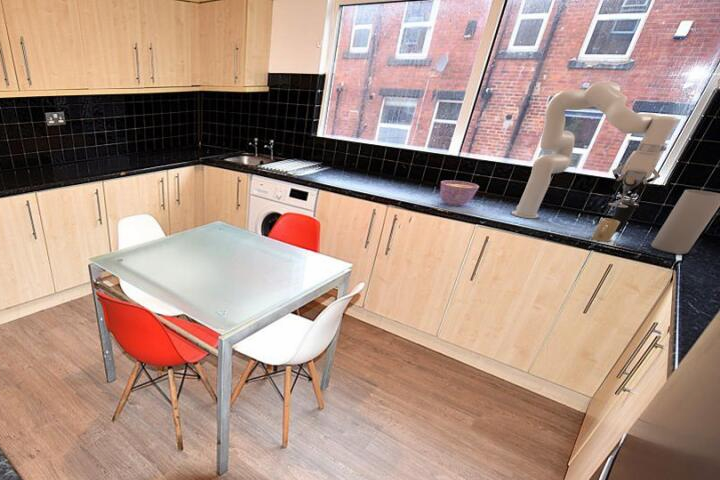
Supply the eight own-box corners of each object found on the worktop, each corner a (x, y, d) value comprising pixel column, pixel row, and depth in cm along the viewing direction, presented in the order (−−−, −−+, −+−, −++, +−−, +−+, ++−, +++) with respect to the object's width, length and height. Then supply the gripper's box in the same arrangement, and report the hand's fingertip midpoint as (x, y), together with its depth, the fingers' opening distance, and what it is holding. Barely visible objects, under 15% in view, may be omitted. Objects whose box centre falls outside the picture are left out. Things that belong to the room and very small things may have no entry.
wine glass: (633, 208, 189) (653, 173, 181) (613, 206, 190) (632, 171, 182) (622, 203, 196) (641, 169, 187) (603, 202, 197) (621, 168, 189)
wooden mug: (593, 235, 206) (603, 217, 201) (611, 239, 201) (621, 221, 196) (587, 239, 200) (598, 221, 195) (606, 243, 195) (617, 224, 190)
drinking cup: (619, 229, 216) (641, 189, 206) (626, 233, 210) (650, 192, 199) (601, 227, 218) (623, 187, 208) (607, 231, 212) (630, 190, 201)
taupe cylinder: (694, 254, 187) (734, 196, 174) (673, 255, 185) (711, 197, 171) (663, 244, 197) (699, 189, 184) (643, 245, 195) (677, 189, 181)
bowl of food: (473, 203, 252) (480, 183, 246) (470, 210, 238) (478, 189, 232) (437, 198, 261) (443, 178, 255) (432, 204, 247) (438, 184, 240)
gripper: (675, 150, 178) (650, 193, 187) (623, 145, 187) (601, 186, 197) (677, 152, 173) (651, 196, 183) (623, 147, 182) (601, 189, 192)
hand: (625, 191), depth 190 cm, fingers closed on wine glass, 7 cm apart
